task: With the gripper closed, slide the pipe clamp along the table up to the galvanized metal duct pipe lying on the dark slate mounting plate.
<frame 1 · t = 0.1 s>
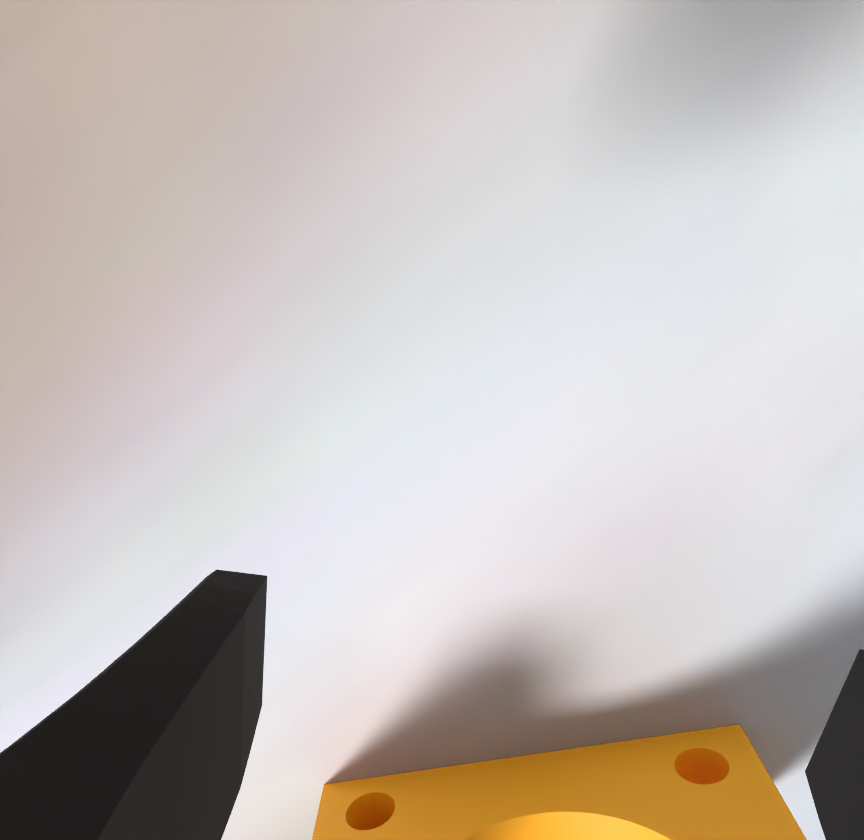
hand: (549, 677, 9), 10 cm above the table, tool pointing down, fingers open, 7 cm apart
pipe clamp: (538, 808, 23), on the table
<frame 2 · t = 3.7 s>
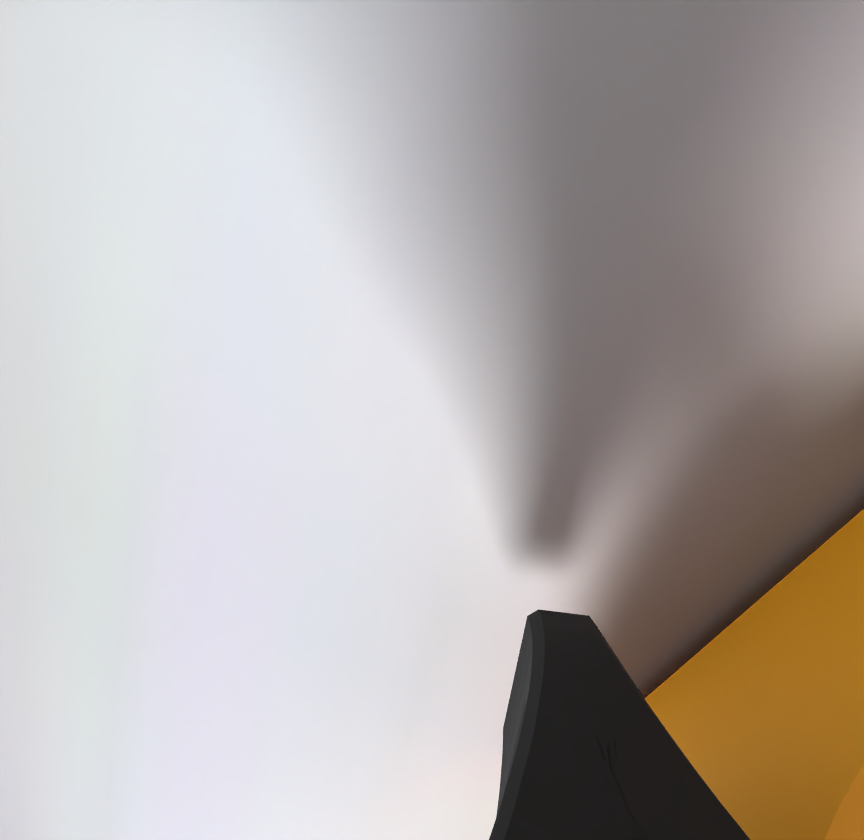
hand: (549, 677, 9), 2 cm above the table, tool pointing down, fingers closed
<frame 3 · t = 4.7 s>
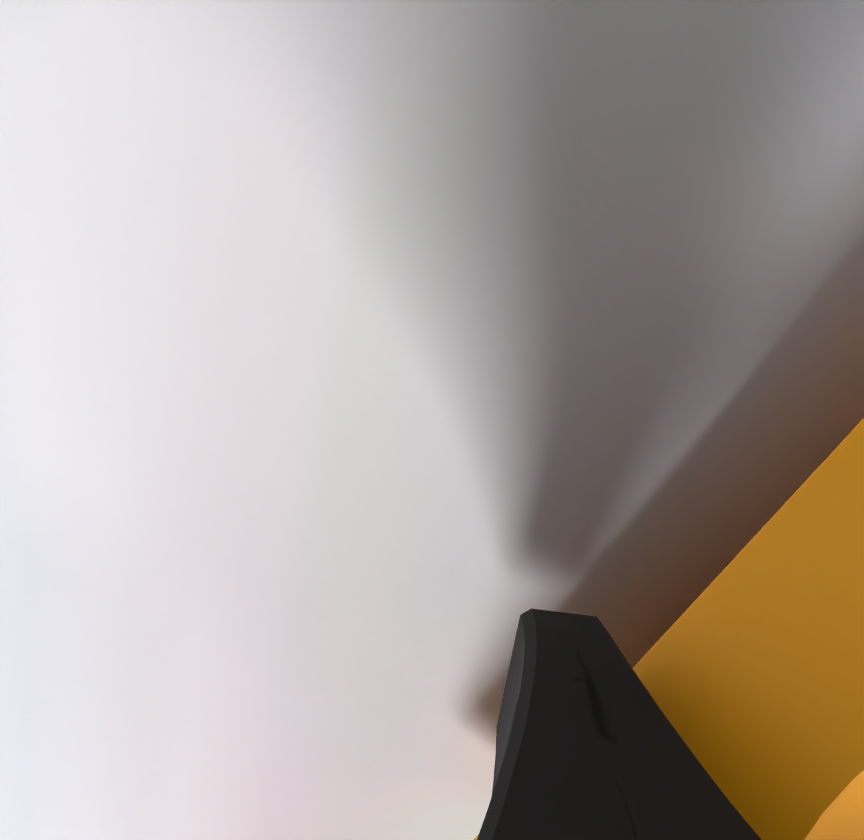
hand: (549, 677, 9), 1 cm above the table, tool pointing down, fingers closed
pipe clamp: (821, 598, 10), point 1 cm above the table, touching gripper
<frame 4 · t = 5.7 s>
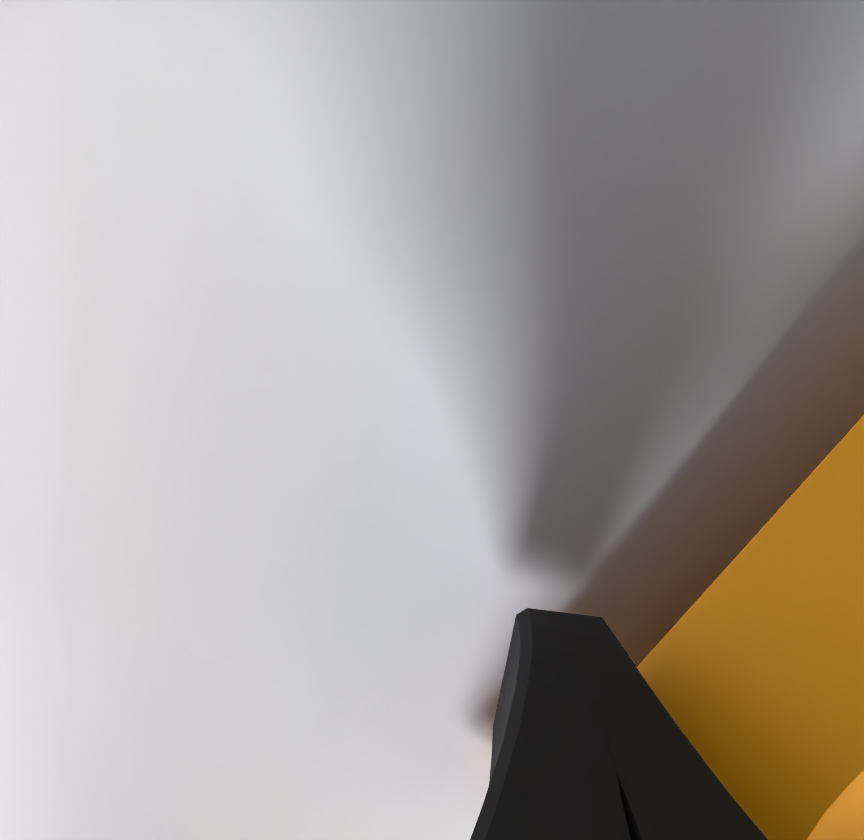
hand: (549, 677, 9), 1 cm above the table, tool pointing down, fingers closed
pipe clamp: (823, 597, 10), point 1 cm above the table, touching gripper
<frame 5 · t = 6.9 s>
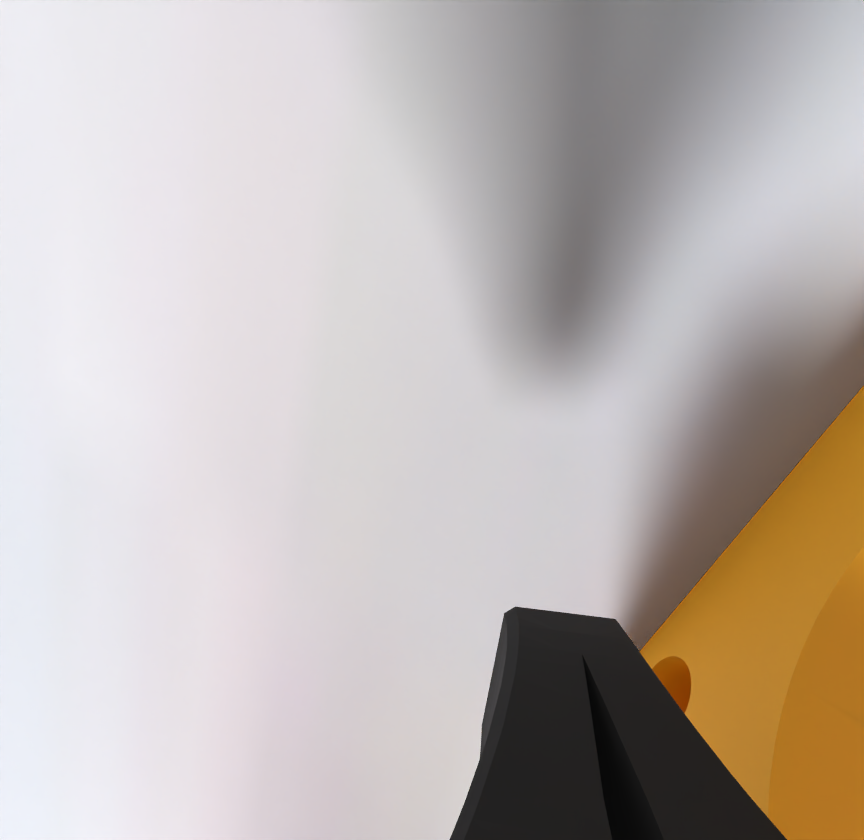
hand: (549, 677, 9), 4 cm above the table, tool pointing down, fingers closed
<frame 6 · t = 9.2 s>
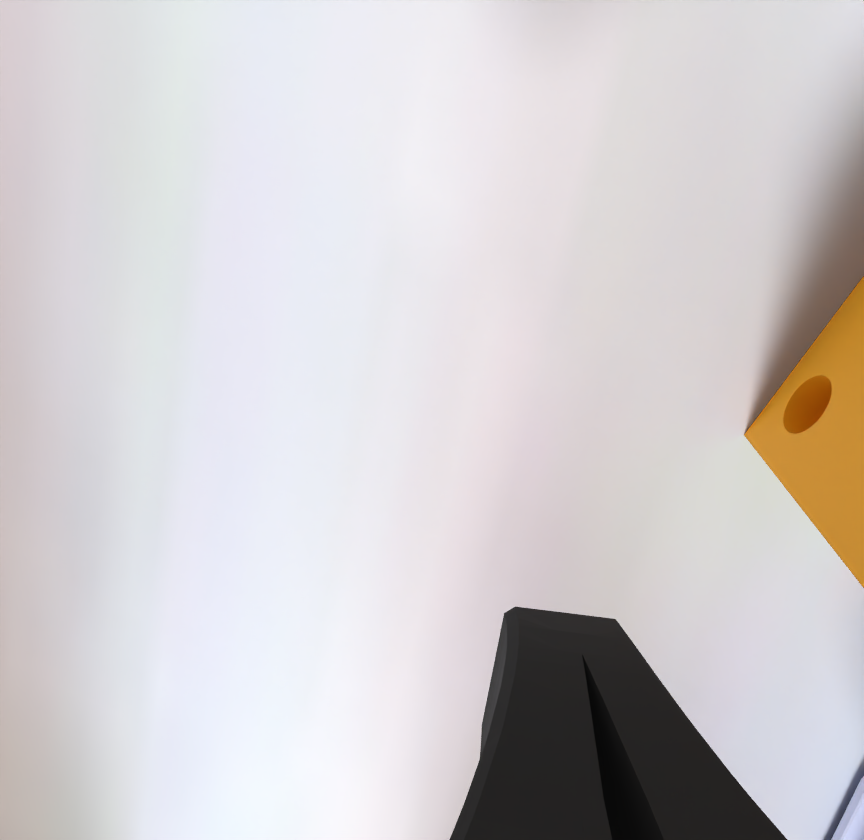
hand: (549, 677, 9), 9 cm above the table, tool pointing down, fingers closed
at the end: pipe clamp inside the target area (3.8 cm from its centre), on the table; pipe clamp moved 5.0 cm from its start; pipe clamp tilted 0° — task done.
